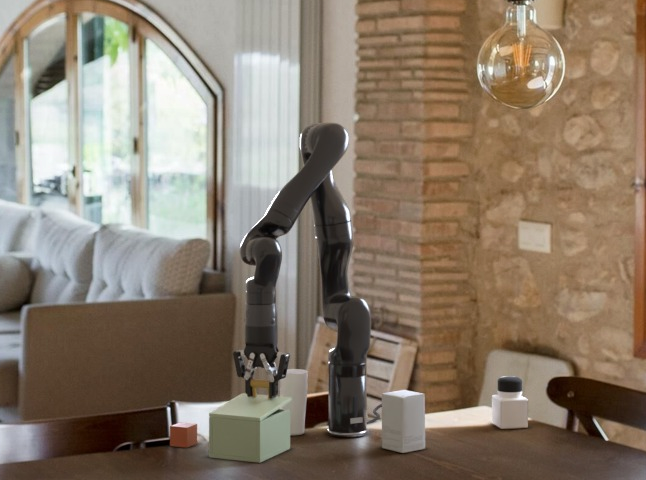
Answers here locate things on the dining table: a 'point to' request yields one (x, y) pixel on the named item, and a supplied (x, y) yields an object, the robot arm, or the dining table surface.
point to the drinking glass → (295, 398)
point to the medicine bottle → (509, 404)
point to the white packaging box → (403, 421)
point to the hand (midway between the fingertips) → (261, 396)
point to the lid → (251, 404)
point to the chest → (249, 437)
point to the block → (183, 435)
